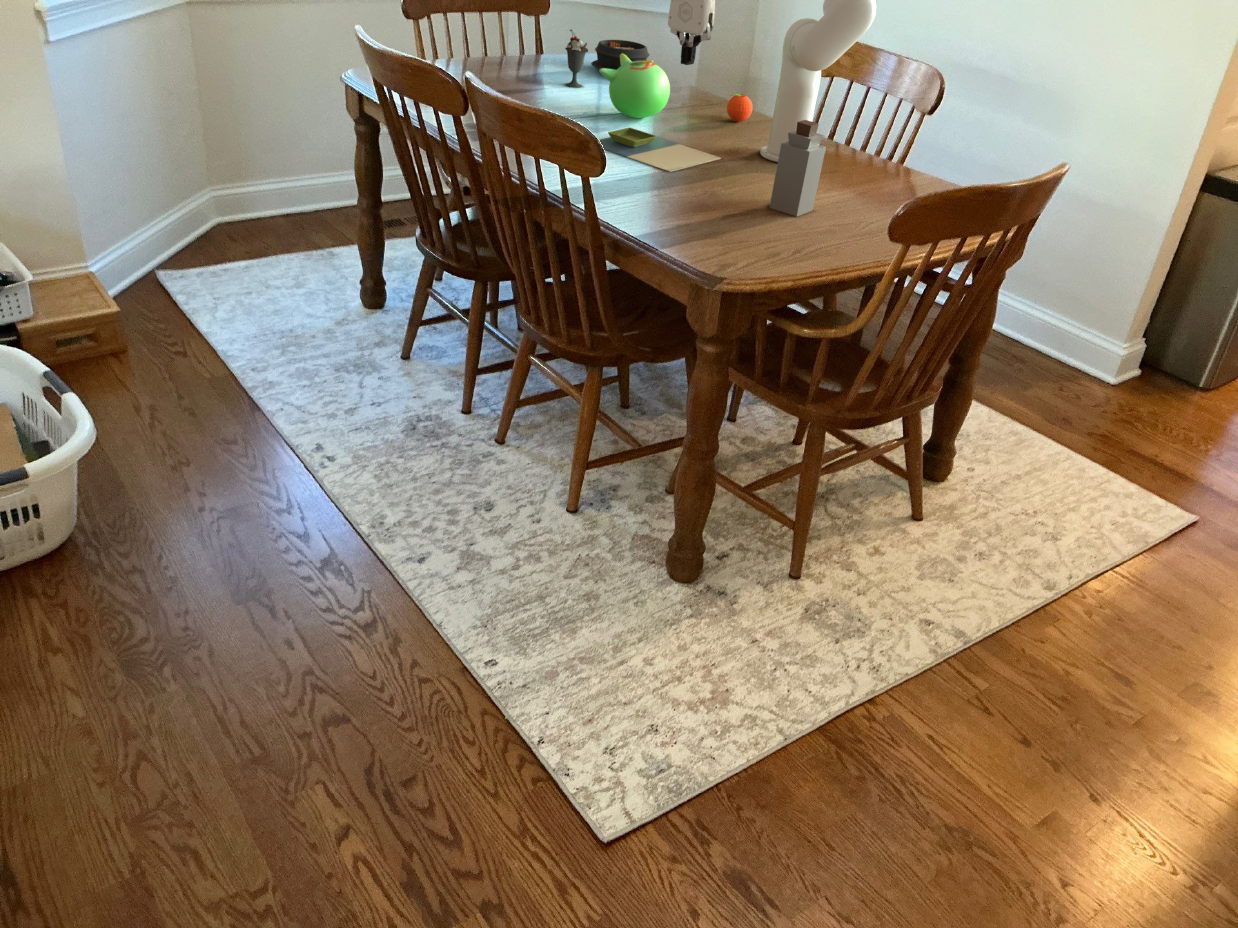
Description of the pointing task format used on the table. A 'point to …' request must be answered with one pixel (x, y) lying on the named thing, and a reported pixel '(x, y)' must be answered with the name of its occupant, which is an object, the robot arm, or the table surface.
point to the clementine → (739, 107)
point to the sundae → (575, 58)
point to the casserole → (618, 53)
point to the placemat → (660, 154)
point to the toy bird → (637, 87)
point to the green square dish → (631, 137)
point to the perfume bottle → (798, 170)
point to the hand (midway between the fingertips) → (687, 64)
